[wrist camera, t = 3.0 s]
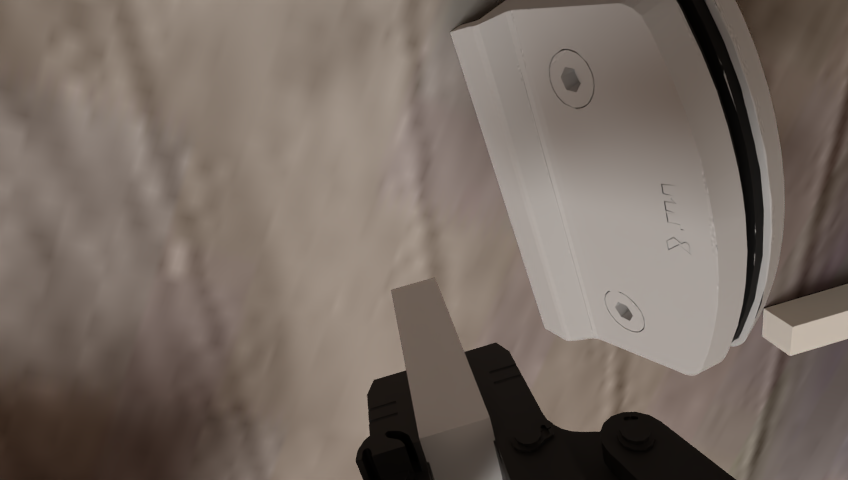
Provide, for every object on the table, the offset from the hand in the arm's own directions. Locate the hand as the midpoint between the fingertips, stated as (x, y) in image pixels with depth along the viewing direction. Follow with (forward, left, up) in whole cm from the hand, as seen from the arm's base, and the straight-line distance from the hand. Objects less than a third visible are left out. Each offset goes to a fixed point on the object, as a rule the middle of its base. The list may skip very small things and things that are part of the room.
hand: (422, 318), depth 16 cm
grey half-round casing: (-1, +9, -8) cm, 12 cm away
